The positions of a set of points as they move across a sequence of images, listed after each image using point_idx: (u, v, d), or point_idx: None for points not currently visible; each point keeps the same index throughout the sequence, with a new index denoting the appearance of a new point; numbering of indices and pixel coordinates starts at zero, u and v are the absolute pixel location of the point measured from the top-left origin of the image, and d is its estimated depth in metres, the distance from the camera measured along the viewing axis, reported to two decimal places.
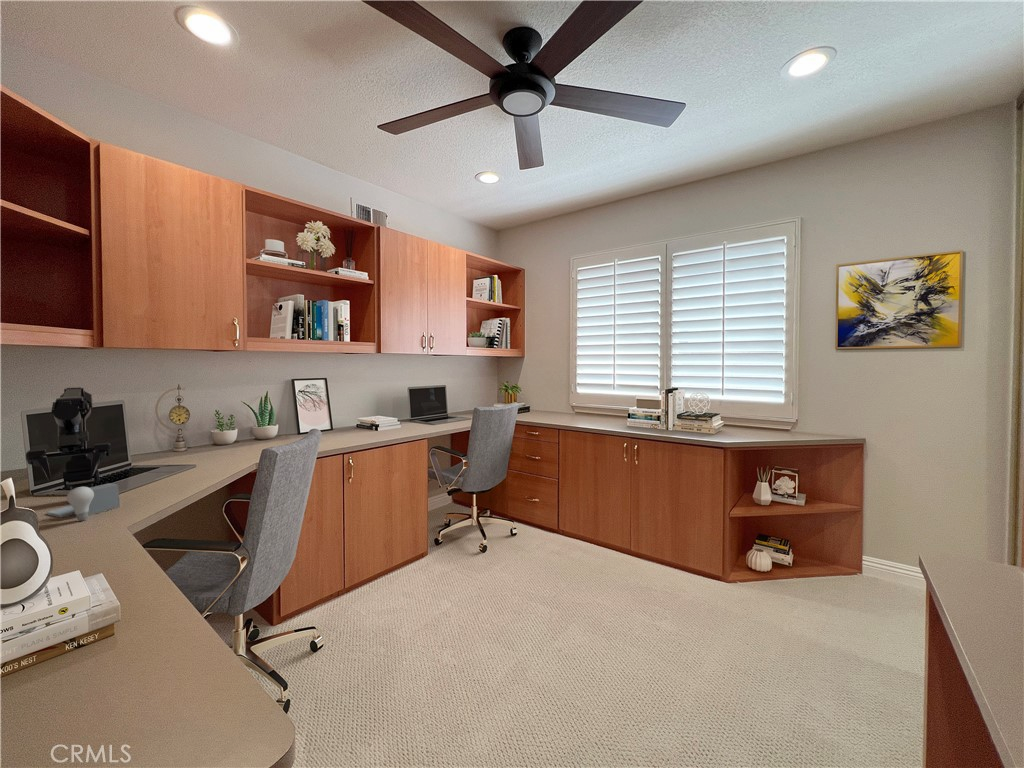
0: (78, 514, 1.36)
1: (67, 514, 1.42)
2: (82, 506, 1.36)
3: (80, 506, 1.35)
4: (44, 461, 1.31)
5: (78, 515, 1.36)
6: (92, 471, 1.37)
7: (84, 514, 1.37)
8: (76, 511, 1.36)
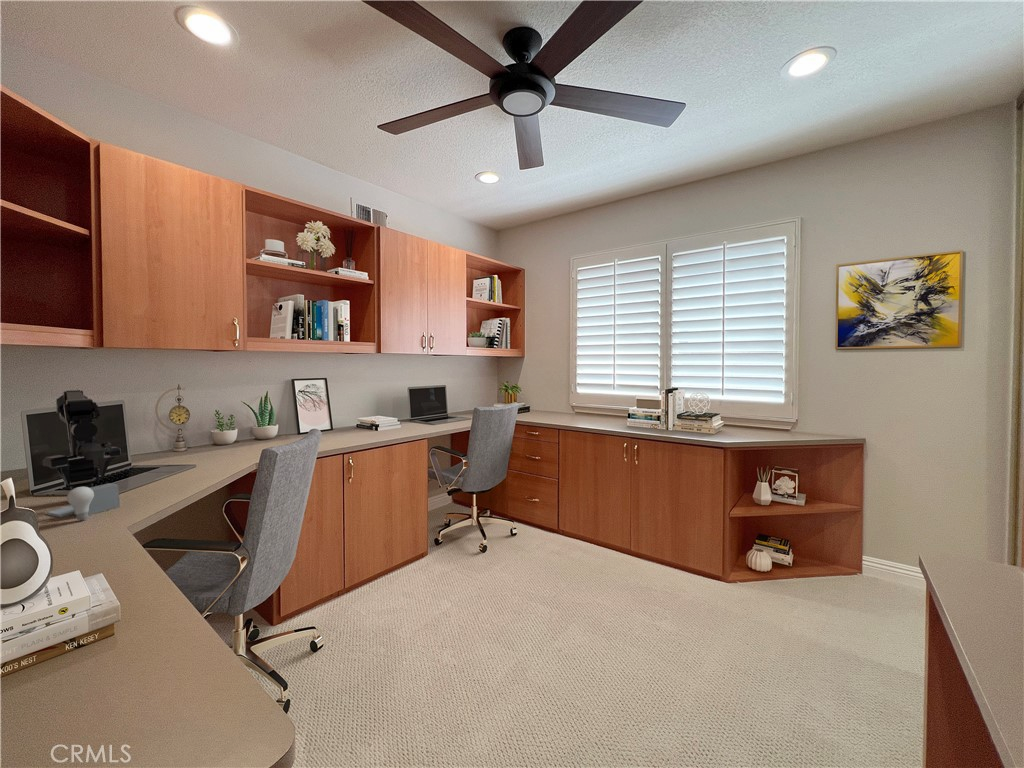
0: (78, 514, 1.36)
1: (67, 514, 1.42)
2: (82, 506, 1.36)
3: (80, 506, 1.35)
4: (66, 468, 1.41)
5: (78, 515, 1.36)
6: (103, 474, 1.52)
7: (84, 514, 1.37)
8: (76, 511, 1.36)
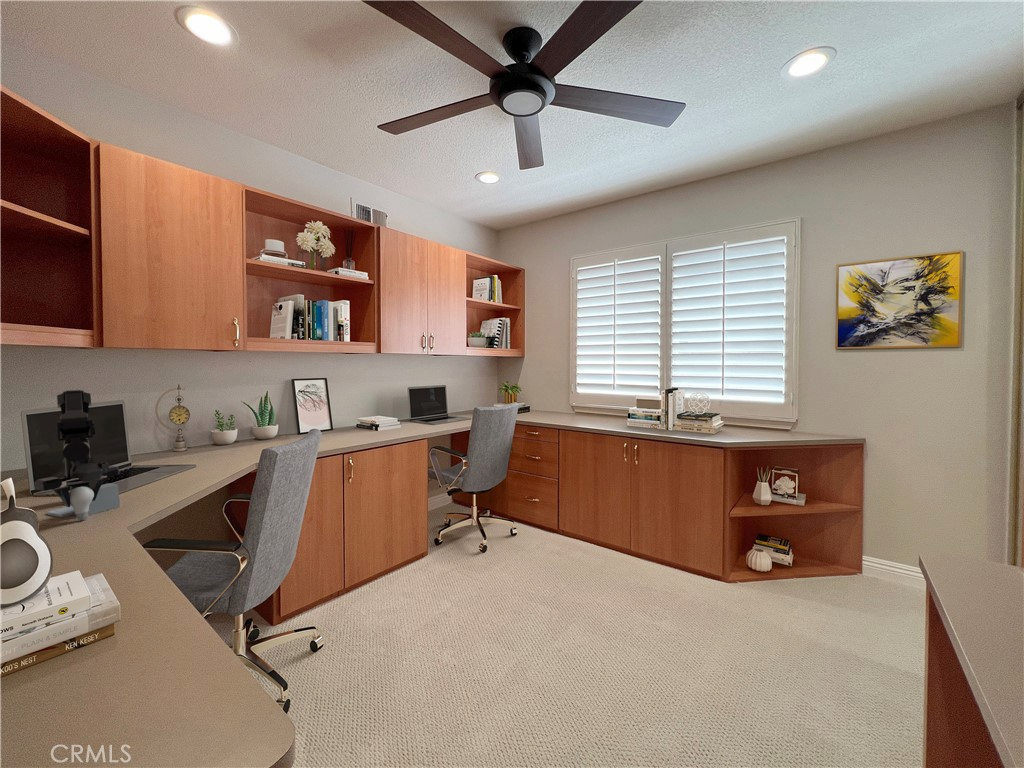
0: (78, 514, 1.36)
1: (67, 514, 1.42)
2: (82, 506, 1.36)
3: (80, 506, 1.35)
4: (66, 490, 1.32)
5: (78, 515, 1.36)
6: (95, 497, 1.40)
7: (84, 514, 1.37)
8: (76, 511, 1.36)
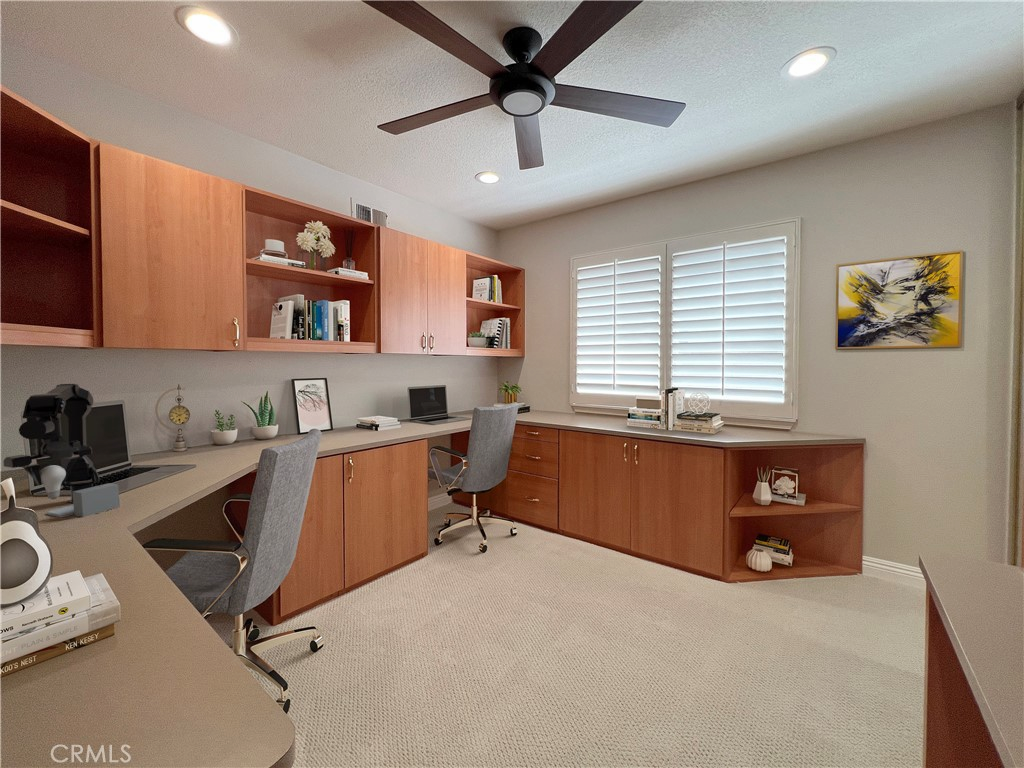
0: (49, 492, 1.35)
1: (67, 514, 1.42)
2: (53, 484, 1.35)
3: (51, 484, 1.35)
4: (37, 467, 1.32)
5: (49, 493, 1.35)
6: (67, 476, 1.39)
7: (55, 492, 1.36)
8: (47, 489, 1.35)
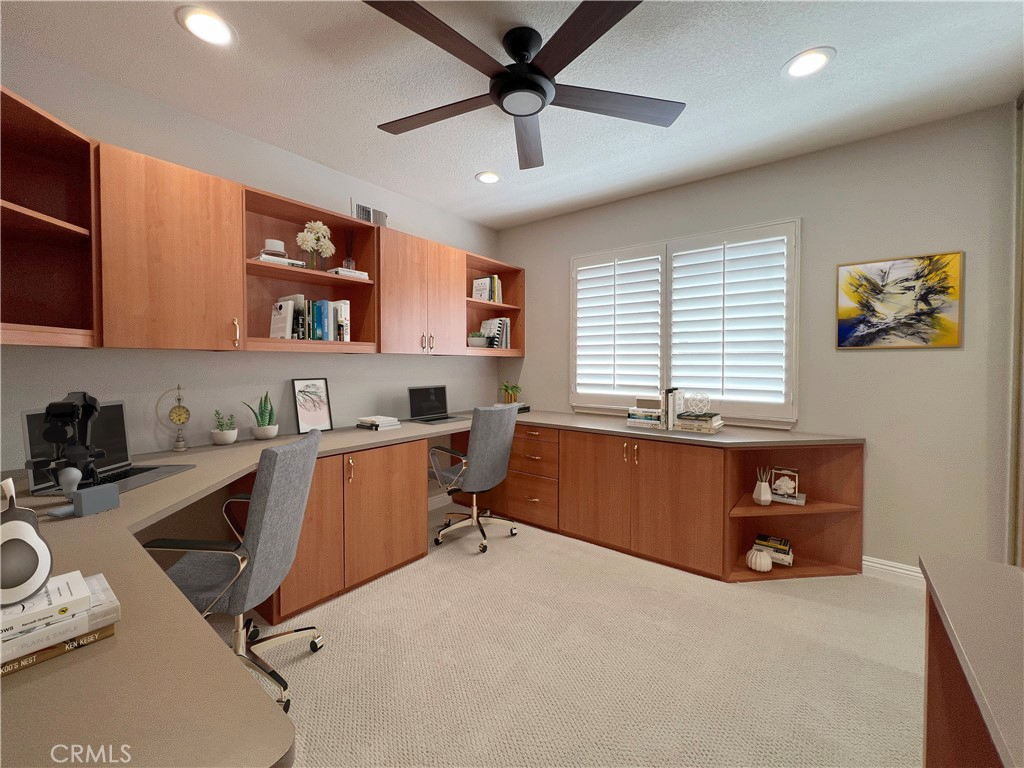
0: (66, 493, 1.45)
1: (67, 514, 1.42)
2: (70, 486, 1.45)
3: (68, 486, 1.44)
4: (55, 470, 1.41)
5: (66, 494, 1.45)
6: (82, 477, 1.48)
7: (72, 493, 1.45)
8: (64, 490, 1.44)
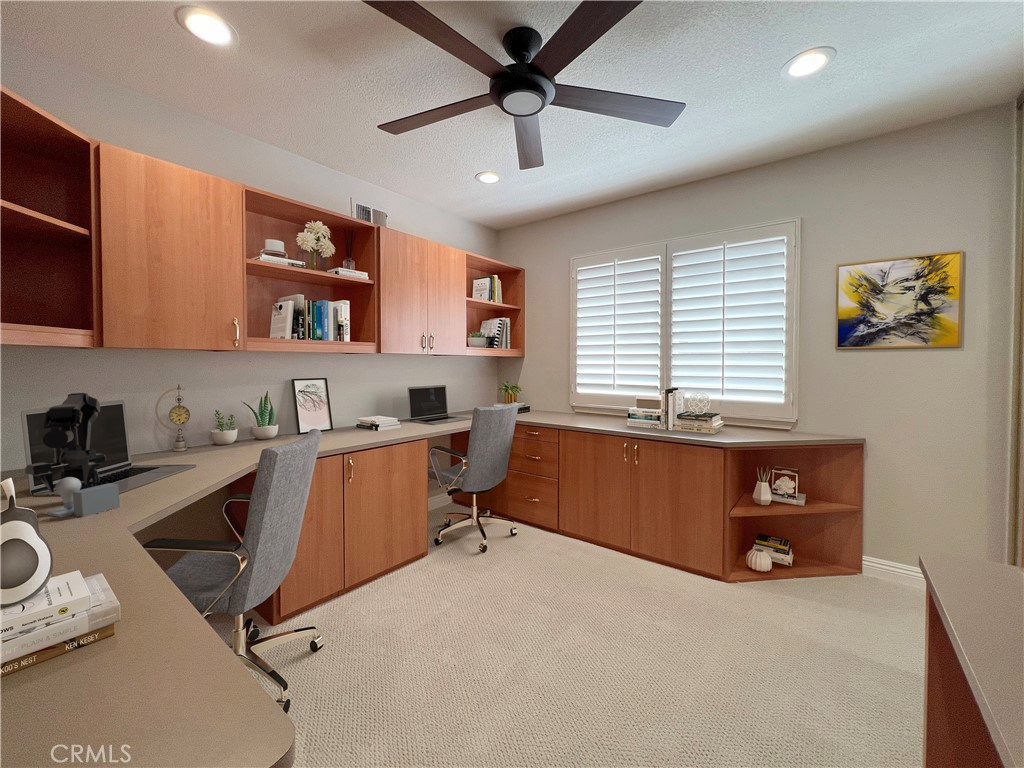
0: (65, 502, 1.44)
1: (67, 514, 1.42)
2: (69, 495, 1.44)
3: (67, 495, 1.44)
4: (50, 476, 1.40)
5: (65, 504, 1.44)
6: (88, 481, 1.50)
7: (71, 503, 1.45)
8: (64, 500, 1.44)
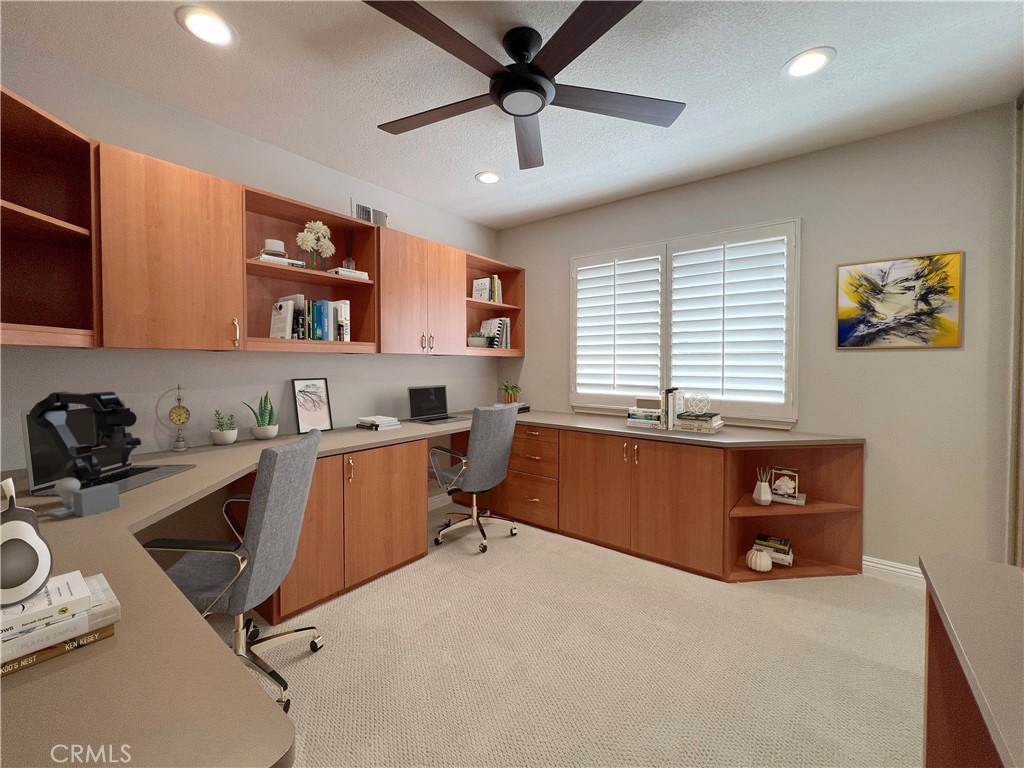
0: (65, 503, 1.44)
1: (67, 514, 1.42)
2: (69, 495, 1.44)
3: (67, 495, 1.44)
4: (90, 457, 1.49)
5: (65, 504, 1.44)
6: (125, 463, 1.59)
7: (71, 503, 1.45)
8: (63, 500, 1.44)
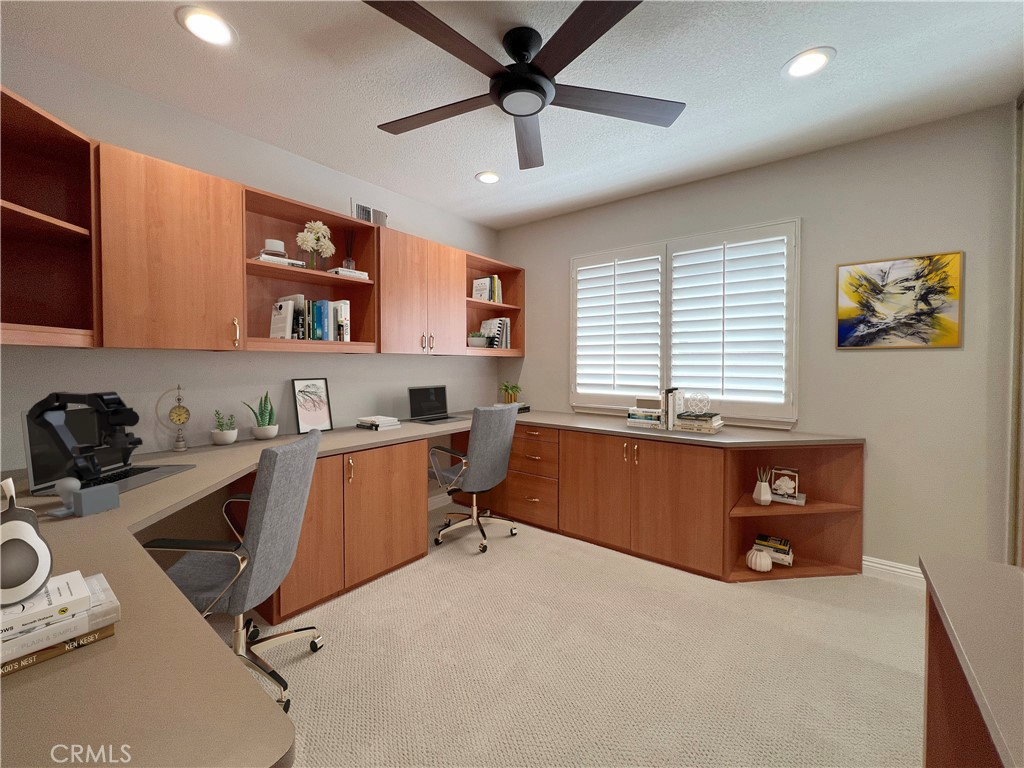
0: (65, 503, 1.44)
1: (67, 514, 1.42)
2: (69, 495, 1.44)
3: (67, 495, 1.44)
4: (93, 456, 1.49)
5: (65, 504, 1.44)
6: (126, 462, 1.60)
7: (71, 503, 1.45)
8: (63, 500, 1.44)
